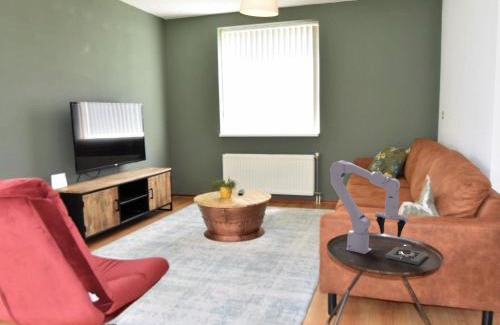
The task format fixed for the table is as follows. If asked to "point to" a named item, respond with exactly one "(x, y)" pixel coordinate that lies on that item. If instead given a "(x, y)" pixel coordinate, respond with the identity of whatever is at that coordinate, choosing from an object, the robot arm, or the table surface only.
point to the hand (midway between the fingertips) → (390, 234)
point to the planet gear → (406, 251)
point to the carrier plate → (418, 259)
